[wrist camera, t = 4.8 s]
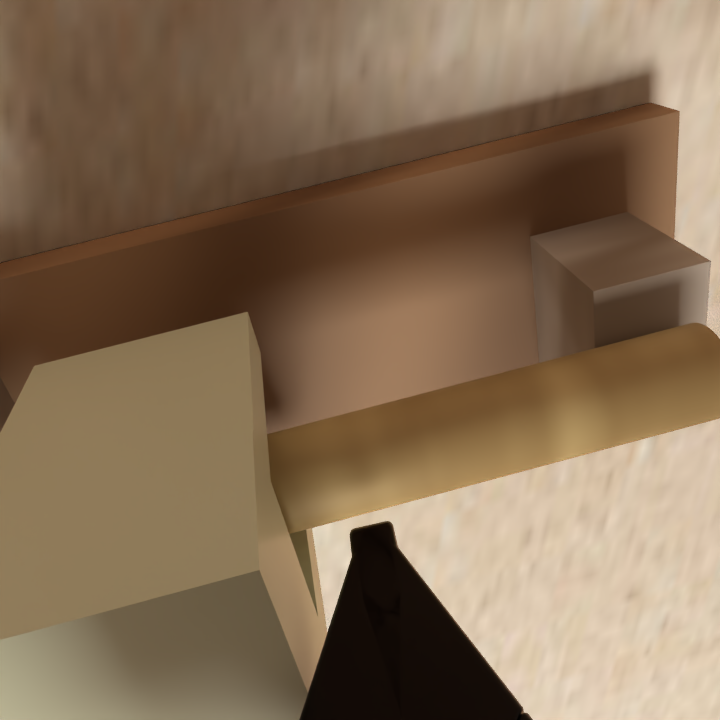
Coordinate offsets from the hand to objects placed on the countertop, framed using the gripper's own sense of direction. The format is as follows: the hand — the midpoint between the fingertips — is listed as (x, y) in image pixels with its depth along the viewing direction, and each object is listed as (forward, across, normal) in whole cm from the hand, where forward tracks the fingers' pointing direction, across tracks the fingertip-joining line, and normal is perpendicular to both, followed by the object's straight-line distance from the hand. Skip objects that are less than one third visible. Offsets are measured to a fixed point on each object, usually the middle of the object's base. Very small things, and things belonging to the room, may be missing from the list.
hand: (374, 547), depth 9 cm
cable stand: (+6, +1, 0) cm, 7 cm away
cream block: (+4, +3, 0) cm, 5 cm away
